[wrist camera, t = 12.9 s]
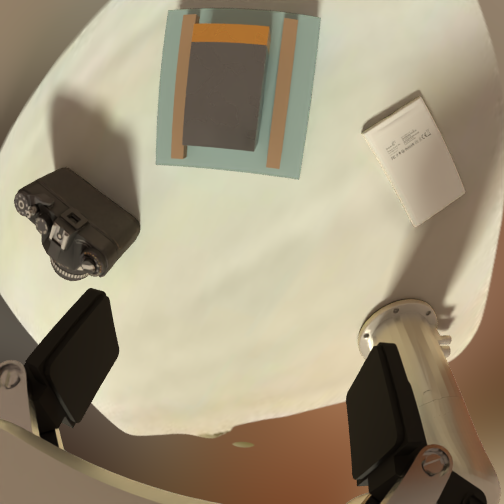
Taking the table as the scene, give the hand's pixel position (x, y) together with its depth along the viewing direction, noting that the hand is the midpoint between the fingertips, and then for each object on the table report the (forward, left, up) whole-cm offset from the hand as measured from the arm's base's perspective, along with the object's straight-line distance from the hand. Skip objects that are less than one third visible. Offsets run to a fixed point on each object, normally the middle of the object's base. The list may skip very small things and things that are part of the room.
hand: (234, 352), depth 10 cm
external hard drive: (-16, -5, -25) cm, 30 cm away
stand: (+4, -9, -24) cm, 26 cm away
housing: (+4, -9, -21) cm, 23 cm away
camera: (+22, +8, -24) cm, 33 cm away
